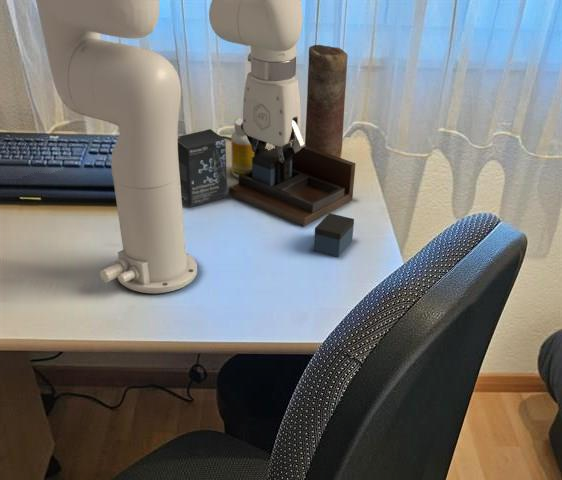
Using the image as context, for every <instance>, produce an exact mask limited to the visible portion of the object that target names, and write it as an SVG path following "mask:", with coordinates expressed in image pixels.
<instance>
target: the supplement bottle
mask: <svg viewBox="0 0 562 480" xmlns="http://www.w3.org/2000/svg"><path fill="white" fill-rule="evenodd" d="M242 122H243V117H240V118H237V119H235V121H234V126H233V127H234V128H233V129H234V132H232V133H231V137H230V141H231V142H230V143H231V144H230V146H231V147H230V148H231V173H232V175H233V176H234V177H236V178H238V179H239V175H240V174H243V173H245V172H247V171H249V170H252V157H254V152H253V151H252V150H251V144H250V142H249V140H248V138H247V136H246V135H245V133H244V132H243V130H242V129H241V124H242Z"/></svg>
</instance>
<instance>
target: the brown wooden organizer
mask: <svg viewBox="0 0 562 480" xmlns="http://www.w3.org/2000/svg"><path fill="white" fill-rule="evenodd" d="M293 145H294V142H293V140H292V146H293ZM274 148H275V149H277V146H275V145H274ZM285 151H286V147H285V146H284V152H285ZM356 165H357V164H356V162H354V161H350V160H348V159H344V158H342V157H341V158H339V157H336V156H334V155H331V154H328V153H325V152H322V151H320V150H317V149H314V148H311V147H308V146H305V148H304V149H302V150H301V151H299V152H297V153H296V154H295V155H294V156H293V158H292V177H290V178H289V179H288V180H286V181H284V182H282V183H280V184H275V185H273V186H270V185H268V184H265V183H263V182H260V181H258V180H255V179H253V178H252V170H249V171H247V172H245V173H243V174H240V175H239V178H238V182H237V183H235V184H233V185H231V186H229V187H228V196H229V197H233V198H235V199H237V200H240V201H242V202H245V203H246V204H249V205H252V206H254V207H256V208H259V209H261V210H264V211H266V212H267V213H268V212H269V213H271V214H273V215H275V216H278V217H280V218H283V219H285V220H287V221H290V222H293V223H294V224H297V225H300V226H302V227H306V226H307V225H309V224H311V223H313V222H315V221H317V220H319V219H320V218H322V217H324V216H327V215H328V214H329V213H332V212H333V211H335V210H337V209H339V208H341V207H342V206H345V205H346V204H348V203H350V202H352V201H353V197H354V188H355V187H354V186H355V176H356Z"/></svg>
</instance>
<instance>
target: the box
mask: <svg viewBox="0 0 562 480" xmlns="http://www.w3.org/2000/svg"><path fill="white" fill-rule="evenodd" d="M178 160H179V172H180V185H181V197H182V203H184V204H186V205H187V206H188V207H189V208H192V207H195V206H199V205H202V204H207V203H210V202H214V201H218V200H222V199H223V200H225V199H227V198H228V178H227V177H228V175H227V139H225V138H224V137H223V136H221V135H219V133H217V132H215V131H214V130H212V129H210V128H209V129H204V130H201V131H197V132H192V133H187V134H184V135H183V134H182V135H179V136H178Z"/></svg>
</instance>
